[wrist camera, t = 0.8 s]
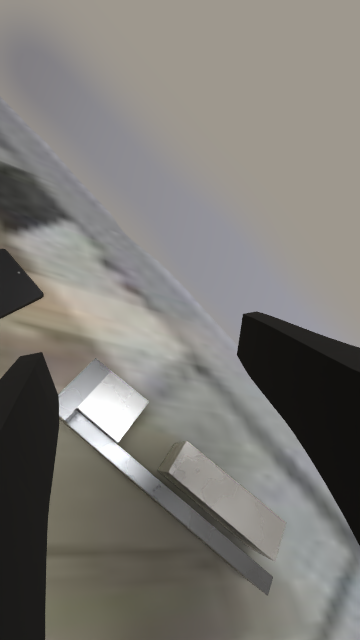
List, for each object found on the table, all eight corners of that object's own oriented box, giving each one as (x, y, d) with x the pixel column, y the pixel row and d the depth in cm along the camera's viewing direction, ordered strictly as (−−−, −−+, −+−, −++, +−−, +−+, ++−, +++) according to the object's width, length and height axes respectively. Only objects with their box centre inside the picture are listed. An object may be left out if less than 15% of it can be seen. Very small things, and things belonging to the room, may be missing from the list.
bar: (259, 514, 21) (286, 522, 18) (247, 546, 19) (275, 562, 16) (174, 443, 21) (186, 440, 18) (157, 470, 20) (168, 472, 17)
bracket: (264, 516, 21) (305, 530, 17) (244, 577, 18) (285, 609, 14) (95, 376, 22) (95, 357, 18) (56, 416, 20) (47, 405, 16)
